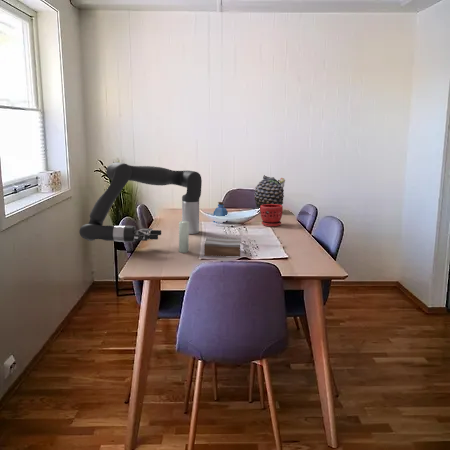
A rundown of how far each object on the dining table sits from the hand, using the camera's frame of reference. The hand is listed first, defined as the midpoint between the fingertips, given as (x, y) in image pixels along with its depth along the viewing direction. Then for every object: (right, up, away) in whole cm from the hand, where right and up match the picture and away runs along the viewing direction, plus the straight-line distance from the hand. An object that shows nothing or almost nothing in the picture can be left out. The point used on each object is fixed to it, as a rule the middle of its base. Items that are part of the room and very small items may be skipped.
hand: (159, 234), depth 217 cm
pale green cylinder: (+11, -8, +1) cm, 14 cm away
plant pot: (+57, +4, +63) cm, 85 cm away
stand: (+29, -8, +1) cm, 30 cm away
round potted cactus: (+59, +13, +102) cm, 119 cm away
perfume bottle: (+27, +6, +68) cm, 74 cm away
